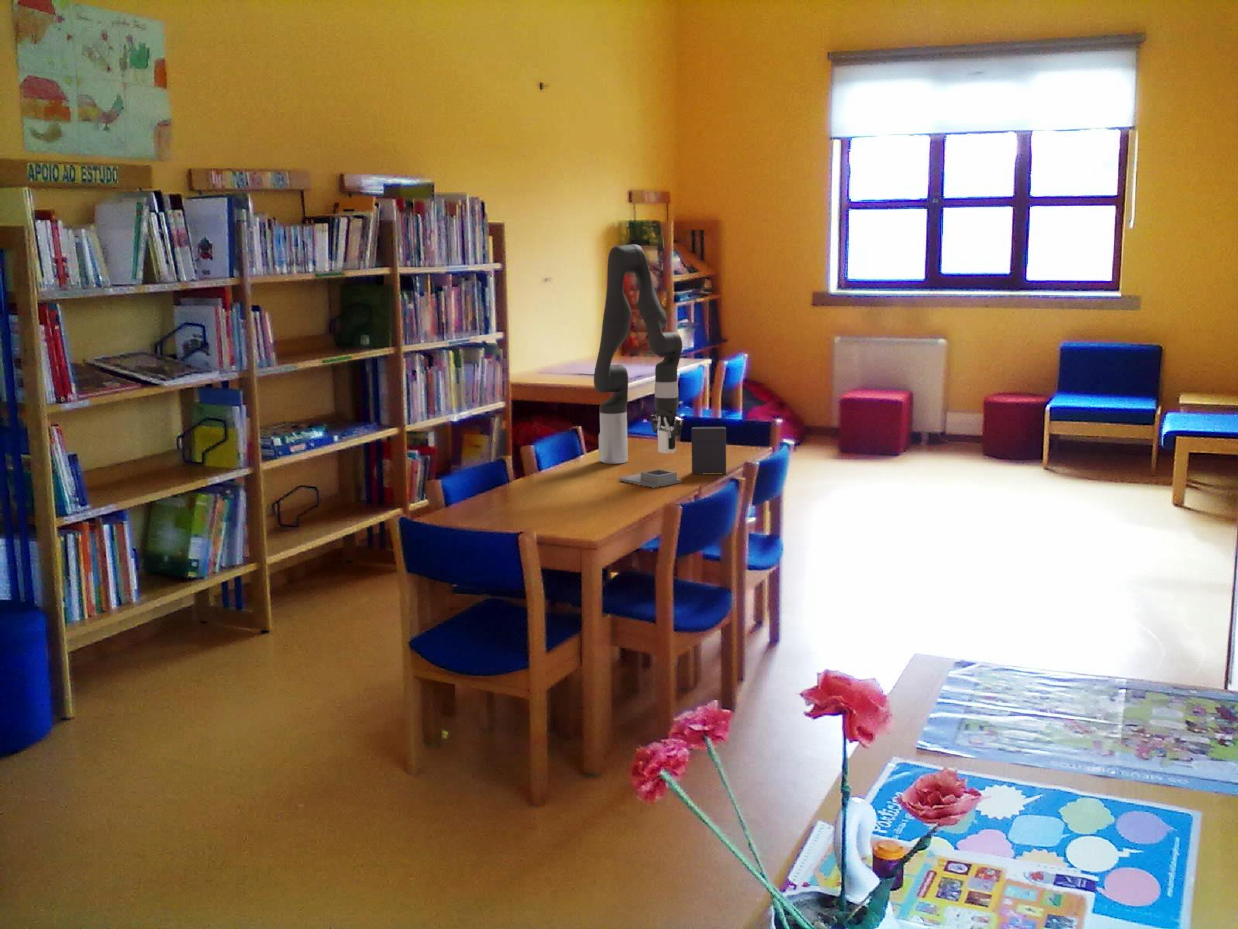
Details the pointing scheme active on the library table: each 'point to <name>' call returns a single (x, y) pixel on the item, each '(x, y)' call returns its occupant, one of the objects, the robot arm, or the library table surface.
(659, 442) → the charger
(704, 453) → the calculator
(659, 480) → the grey base with socket
